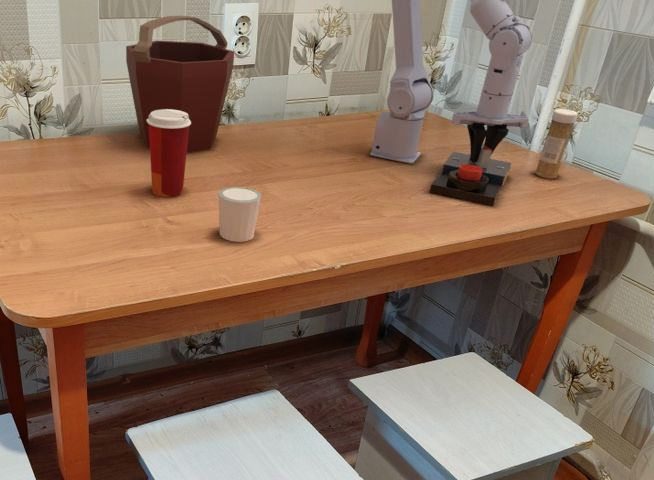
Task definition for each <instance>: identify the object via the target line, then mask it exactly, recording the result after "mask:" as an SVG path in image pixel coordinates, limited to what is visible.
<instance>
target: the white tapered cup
mask: <svg viewBox="0 0 654 480" xmlns="http://www.w3.org/2000/svg"><path fill="white" fill-rule="evenodd" d="M261 200H262V194H261V193H260V192H259V191H258V190H255V188H254V189H253V188H250V187H244V186H228V187H224V188H222V189H220V190H219V192H218V218H219V219H218V220H219V221H218V222H219V223H218V225H219V236H220V237H221V238H223V239H224V240H226V241H230V242H236V243H243V242H248V241H251V240H253V238H254V236H255V233H256V232H255V230H256V227H257V221H258V215H259V210H260V206H261Z"/></svg>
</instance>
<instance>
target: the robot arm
mask: <svg viewBox="0 0 654 480" xmlns="http://www.w3.org/2000/svg"><path fill="white" fill-rule="evenodd" d="M391 11H392V23H393V24H392V25H393V26H392V27H393V42H394V58H395V71H394V73H393V74H392V77H391V79H390V80H389V84H390V85H389V86H390V87H389V92H388V95H387V99H386V105H387V108H388V110H389V111H381V112H380V113H379V115H378V118H377V121H376V124H375V129H374V133H373V140H372V146H371V152H370V153H369V156H370V157H375V158H380V159H385V160H390V161H396V162H400V163H405V164H410V165H411V164H412V165H413V164H414V163H415V162H416V161H417V159H418V158H419V157H420V156H421V154H422V153H421V152H420V151H418V148H419V143H420V138H421V133H422V129H423V125H424V120H425V116H426V109H428V108H429V107H430V106H431V105H432V103H433V101H434V97H435V91H434V88H433V85H432V84H431V82H430V75H429V72H428V70H427V68H426V67H425V66H424V56H423V41H422V40H423V38H422V35H423V34H422V17H421V0H391ZM469 13H470V15H471V16H472V18H473V19H474V21H475V23H477V25H478V26H479V28H480V30H481V31H482V33H483V34H484V36H485V37H486V39H487V40H489V41H488V49H489V53H490V55H491V56H490V60H489V63H488V66H487V70H486V73H485V77H484V81H483V85H482V89H481V93H480V97H479V100H478V104H477V107H476V108H477V109H476V111H464V112H453V114H452V117H451V118H452V119H451V123H452V124H453V125H454V126H460V125H466V127H467V132H468V136H469V143H470V145H469V146H470V153H471V154H469V155H470V160H471V161H473V162H477V160H478V158H479V154H480V150H481V147H482V144H485V145H486V146H487V147H488V148H491V150H492V153H491V156H490V158H491V157H492V155H493V153H494V151H495V150H496V148H497V147H498V146H499V144H501V142H502V141H503V139H505V138H506V137H507V136H508V134H509V131H510V130H509V128H508V127H512V128H513V127H514V128H520V129H526V128H527V123H528V121H529V118H528V117H527V116H526V115H521V114H520V115H519V114H510V113H509V108H510V106H511V102H512V98H513V94H514V91H515V88H516V84H517V81H518V78H519V75H520V70H521V65H522V62H523V58H524V54H525V53H526V52H527V51H528V50H529V49H530V47H531V45H532V41H533V34H532V32H531V29H530V26H529V25H528V24H526V23H524V22H520V21H521V17H520V16H519V15H515V13H514V12H513V10H512V9H511V7H510V6H509V5H508V3H507V1H506V0H470V6H469ZM485 126H486V127H485Z"/></svg>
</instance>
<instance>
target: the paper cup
mask: <svg viewBox="0 0 654 480" xmlns="http://www.w3.org/2000/svg"><path fill="white" fill-rule="evenodd" d="M146 121H147V123H148V124H149V138H150V148H149V157H150V158H149V159H150V172H151V173H150V174H151V175H150V176H151V189H152V194H153V195H156V196H157V197H163V198H175V197H179V196H181V195H182V194H183V191H184V185H185V183H184V181H185V173H186V163H187V154H188V152H187V145H188V133H189V125H191V121H190V120H189V115H188V114H187V113H186V112H183V111H179V110H172V109H161V110H155V111H152V112H151V113H150V115H149V118H148V119H147V120H146Z"/></svg>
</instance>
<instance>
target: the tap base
mask: <svg viewBox="0 0 654 480" xmlns="http://www.w3.org/2000/svg"><path fill="white" fill-rule="evenodd" d="M469 157H470V154H467V153H462V152H456V151H452V153H451V154H450V155H449V156H448V158H447V159H446V161H445V162H444V163H443V165H442V168H441V173H443V174H448V175H449V173H450V172H451V171H455V170H459V166H460V165H463V164H470V165H475V166H477V165H476V164H475V163H474V162H473V161H471V160H470V159H469ZM511 166H512V162H509V161H503V160H499V159H493V158H490V160H489V164H488V167H487V168H482V169H483V172H482V174H483V175H486V176H487V177H488V178H489V181H488V183H492V184H497V185H501V189H500V192H501V191H502V189H503V187H504V185H505V183H506V180H507V179H508V176H509V173H510V169H511Z"/></svg>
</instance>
